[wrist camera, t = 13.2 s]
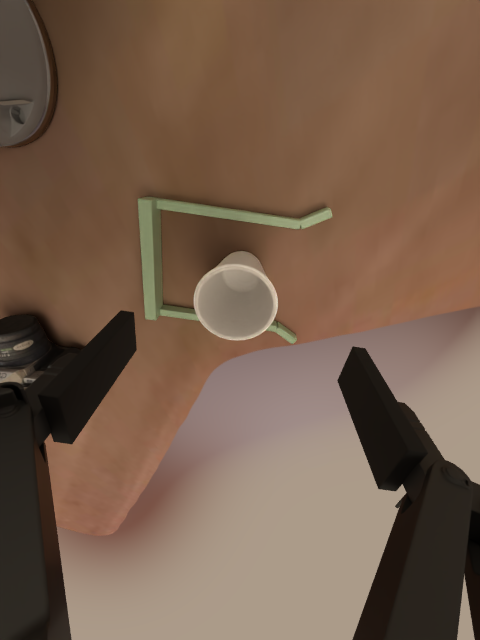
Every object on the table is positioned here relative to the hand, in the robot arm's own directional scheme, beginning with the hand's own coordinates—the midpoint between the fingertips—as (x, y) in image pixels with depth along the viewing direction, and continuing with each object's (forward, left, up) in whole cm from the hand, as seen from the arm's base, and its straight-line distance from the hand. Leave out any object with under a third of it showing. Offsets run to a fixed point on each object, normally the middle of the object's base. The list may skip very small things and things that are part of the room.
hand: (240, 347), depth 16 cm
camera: (-31, -18, -20) cm, 41 cm away
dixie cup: (-1, -2, -20) cm, 20 cm away
